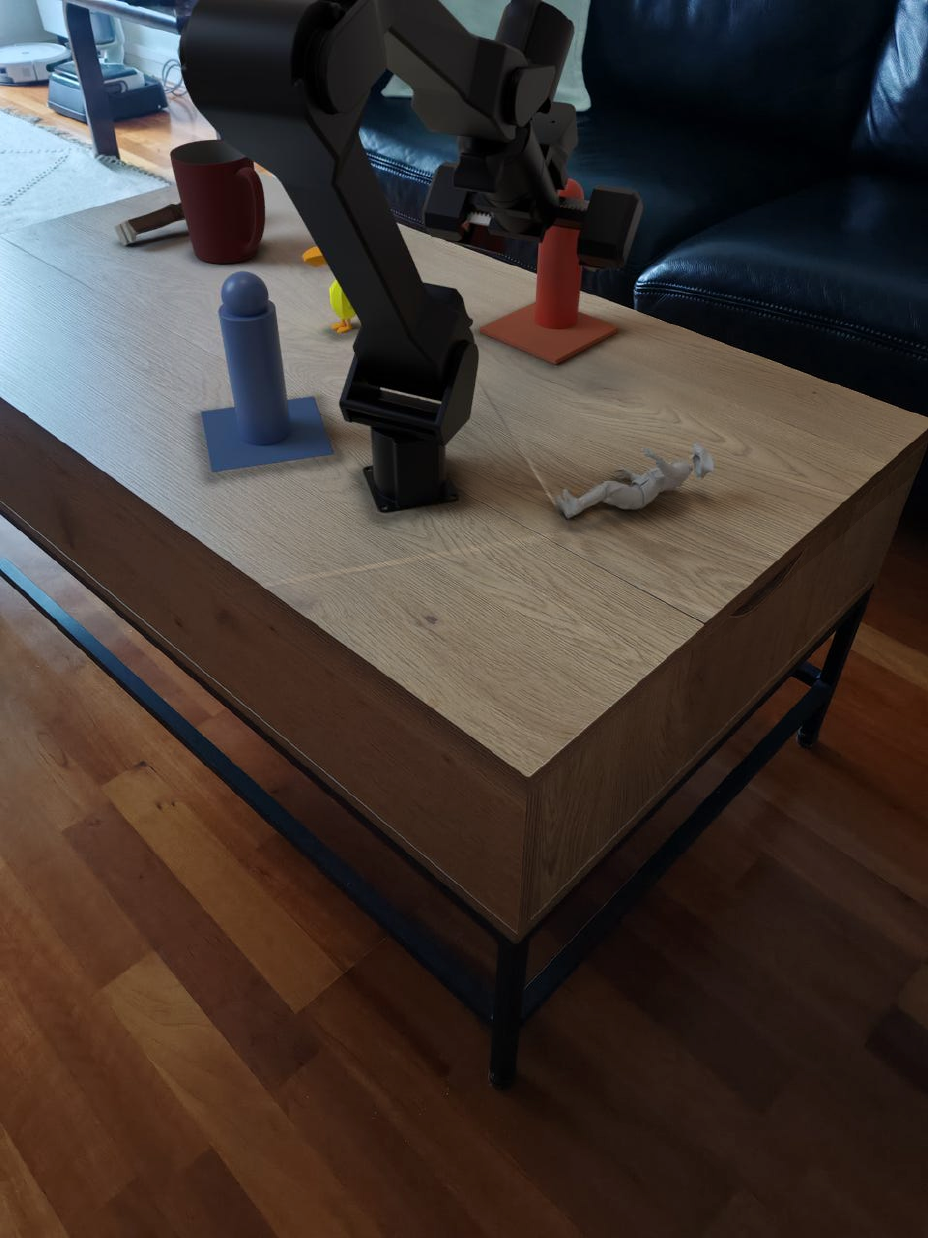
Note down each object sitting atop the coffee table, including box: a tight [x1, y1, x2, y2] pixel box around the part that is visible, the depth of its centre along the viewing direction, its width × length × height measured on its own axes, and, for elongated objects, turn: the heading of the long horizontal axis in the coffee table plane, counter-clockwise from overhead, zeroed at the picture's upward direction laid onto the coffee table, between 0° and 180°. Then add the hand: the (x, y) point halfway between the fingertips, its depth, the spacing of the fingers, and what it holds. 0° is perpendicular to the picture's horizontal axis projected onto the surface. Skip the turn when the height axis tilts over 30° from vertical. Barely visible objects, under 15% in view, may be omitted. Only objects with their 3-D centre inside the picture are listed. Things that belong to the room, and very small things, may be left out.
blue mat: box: [200, 395, 335, 473], centre depth 83 cm, size 10×10×1 cm
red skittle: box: [534, 177, 585, 329], centre depth 95 cm, size 4×4×14 cm
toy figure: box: [301, 245, 357, 334], centre depth 94 cm, size 7×4×12 cm, turn 129°
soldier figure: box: [555, 442, 715, 519], centre depth 75 cm, size 8×5×12 cm
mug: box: [169, 139, 266, 264], centre depth 109 cm, size 12×9×11 cm
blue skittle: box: [217, 270, 291, 445], centre depth 78 cm, size 4×4×14 cm
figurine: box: [114, 201, 186, 246], centre depth 116 cm, size 8×5×15 cm
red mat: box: [479, 301, 620, 365], centre depth 98 cm, size 10×10×1 cm
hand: (549, 257), depth 92 cm, fingers open, 9 cm apart
